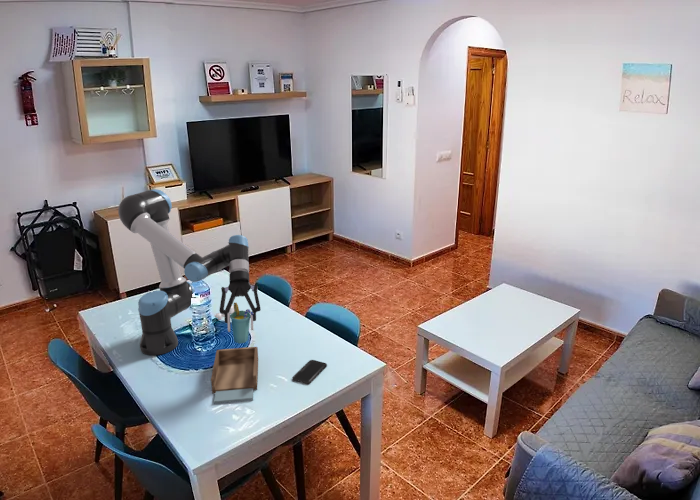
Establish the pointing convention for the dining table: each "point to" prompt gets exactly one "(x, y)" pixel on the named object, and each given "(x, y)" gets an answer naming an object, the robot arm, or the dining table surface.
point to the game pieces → (223, 314)
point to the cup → (240, 324)
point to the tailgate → (233, 395)
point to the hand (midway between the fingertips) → (240, 330)
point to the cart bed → (235, 369)
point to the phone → (309, 372)
